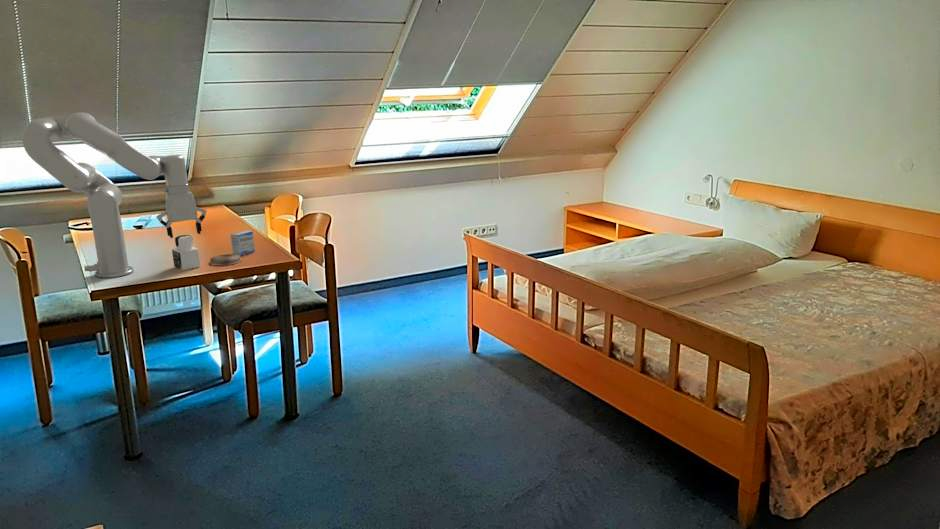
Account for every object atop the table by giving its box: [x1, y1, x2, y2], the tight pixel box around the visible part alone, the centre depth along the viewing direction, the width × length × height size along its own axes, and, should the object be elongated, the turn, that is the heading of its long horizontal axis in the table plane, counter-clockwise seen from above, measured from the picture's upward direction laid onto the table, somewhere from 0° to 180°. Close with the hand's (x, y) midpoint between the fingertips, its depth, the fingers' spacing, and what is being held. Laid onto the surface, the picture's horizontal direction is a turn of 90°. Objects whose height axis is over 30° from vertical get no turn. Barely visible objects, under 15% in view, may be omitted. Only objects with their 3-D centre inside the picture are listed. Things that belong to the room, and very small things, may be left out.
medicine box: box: [230, 230, 256, 257], centre depth 278 cm, size 8×4×9 cm, turn 151°
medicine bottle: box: [171, 234, 201, 271], centre depth 259 cm, size 7×7×12 cm
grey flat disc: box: [209, 253, 243, 267], centre depth 267 cm, size 12×12×2 cm
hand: (185, 235), depth 258 cm, fingers open, 9 cm apart
